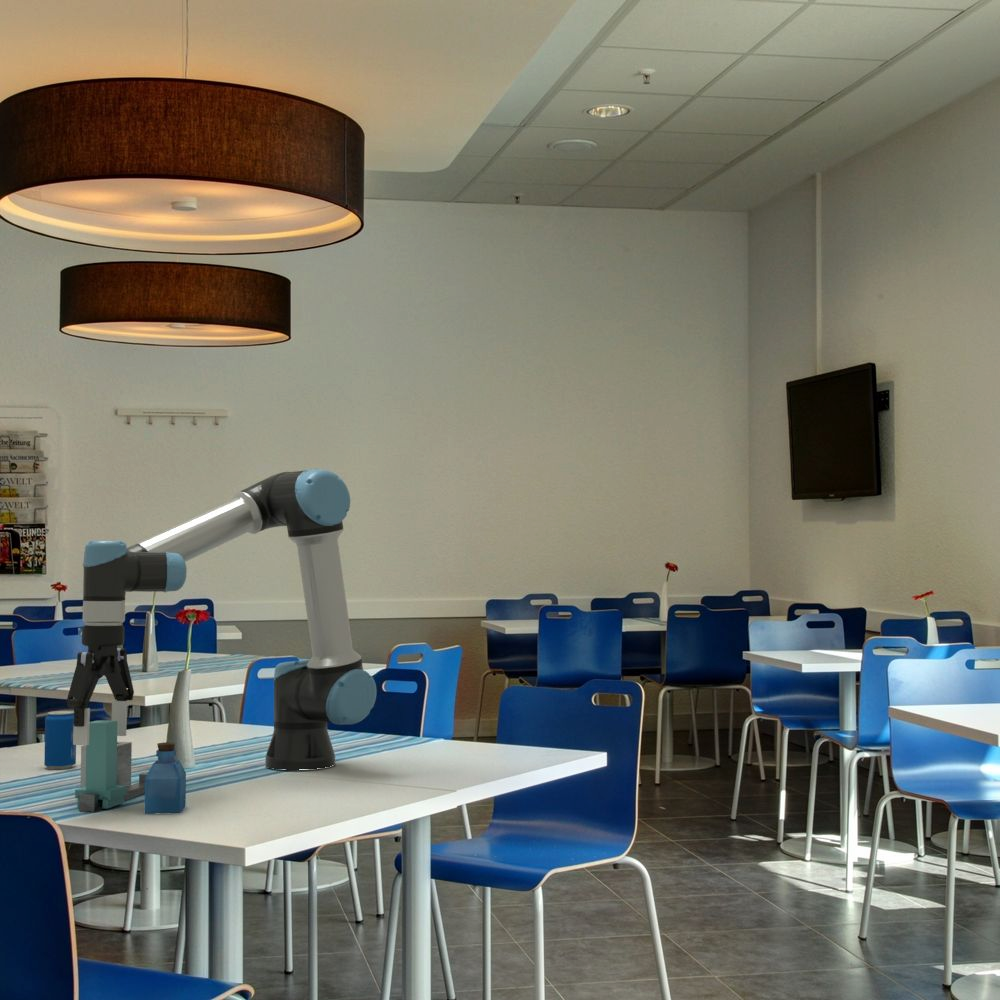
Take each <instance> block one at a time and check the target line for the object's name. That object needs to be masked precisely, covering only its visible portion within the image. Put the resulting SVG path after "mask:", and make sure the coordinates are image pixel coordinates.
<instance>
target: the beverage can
mask: <svg viewBox="0 0 1000 1000" xmlns="http://www.w3.org/2000/svg"><path fill="white" fill-rule="evenodd" d="M73 729H74V710H56V711H49V712H47V715H46V717H45V719H44V762H43V763H44V766H45V767H46V768H47V769H48V770H56V771H57V770H60V771H61V770H68V769H69V770H70V769H72V768H73V766H75V765H76V763H77V762H76V761H77V745H73Z"/></svg>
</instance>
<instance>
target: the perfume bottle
mask: <svg viewBox="0 0 1000 1000" xmlns="http://www.w3.org/2000/svg"><path fill="white" fill-rule="evenodd" d="M175 747H176V742H159V743H157V750H156V755H155V756H156V757H157V760H156V761H154V762H153V763H152V764H151V766H150V769H149V770H148V772H147V773H148V774H147V776H146V778H145V793H144V815H156V814H155V813H180V812H181V811H182V812H183V811H184V809H185V808H186V807H185V806H187V805H186V804H187V803H186V802H187V801H186V799H187V797H186V796H187V794H186V791H187V790H186V789H187V773H186V770H185V769H184V766H183V765H182V763H181V761H180V760H178V759H175V757H176V753H177V750H176V749H175ZM182 812H181V813H182ZM181 813H180V814H181Z"/></svg>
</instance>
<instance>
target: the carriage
mask: <svg viewBox="0 0 1000 1000" xmlns="http://www.w3.org/2000/svg"><path fill="white" fill-rule="evenodd" d="M117 742H118V736H117V721H112V720H103V719H102V720H94V721H90V727H89V745H86V786H85V787H82V788H81V787H79V788H77V789H75V791H74V799H77V803H76V804H77V808H79V794H82V793H96V794H99V799H103V808H104V809H110V808H113V807H115V806H118V805H122V804H123V803H125V801H124V795H125V794H127V786H122V785H117Z"/></svg>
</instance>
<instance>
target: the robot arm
mask: <svg viewBox="0 0 1000 1000" xmlns="http://www.w3.org/2000/svg"><path fill="white" fill-rule="evenodd" d="M350 495H351V494H350V491H349V488H348V486H347V485H346V483H345V482H344V480H343V479H342V478H341V477H339V476H338V474H336V473H334V472H333V471H330V470H326V469H318V468H314V469H313V468H311V469H305V470H297V471H284V472H279V473H275V474H273V475H271V476H268V477H266V478H264V479H262V480H260V481H258V482H256V483H254V484H252V485H251V486H249V487H246V488H245V489H242V490H240V491H237V492H235V493H234V495H233V497H232V500H229V501H227V502H225V503H223V504H221V505H219V506H218V505H217V506H216V507H214V508H212V509H209V510H207V511H205V512H203V513H201V514H198V515H197V516H194V517H192V518H190V519H188V520H186V521H183V522H181V523H180V524H177V525H175V526H172V527H170V528H168V529H166V530H163V531H161V532H159V533H157V534H155V535H153V536H151V537H148V538H146V539H143V540H142V541H139V542H138V543H136V544H134V545H133V544H132V545H130V546H128V547H127V543H126V542H125V541H124V540H123V541H122V540H89V541H88V542H87V543H86V544H85V547H84V551H83V553H84V554H83V562H82V567H83V581H82V582H83V583H82V584H83V586H82V588H83V589H82V591H83V592H82V593H83V594H82V595H83V597H82V607H81V610H82V622H83V623H85V625H82V628H81V644H82V646H84V647H88V649H87V651H85V652H84V651H78V652H77V657H76V666H75V669H74V673H73V676H72V680H71V683H70V688H69V691H68V695H67V698H66V701H65V702H66V706H67V707H68V708H69V709H73V711H74V729H73V745H76V746H83V745H89V727H90V722H91V721H90V718H91V717H90V716H91V708H90V707H88V705H89V702H90V700H91V698H92V696H93V694H94V691H95V688H96V686H97V685H98V682H99V680H100V679H101V678H102V677H105V678H106V681H107V684H108V685H109V687H110V691H111V693H112V695H113V698H114V700H112V701H111V721H117V737H126V736H127V726H128V725H127V723H128V722H127V718H128V713H127V712H128V701H133V699H134V694H135V692H134V691H135V690H134V685H133V682H132V677H131V672H130V667H129V663H128V654H127V653H128V652H127V649H126V648H119V647H120V646H123V645H124V644H125V626H124V625H122V623H124V622H125V621H126V593H127V592H128V593H131V592H144V593H145V592H146V593H149V592H150V593H151V592H153V593H155V592H156V593H157V592H158V593H159V592H160V593H161V592H162V593H165V594H166V593H168V592H177V591H179V590H181V589H182V587H183V586H184V585H185V582H186V580H187V570H188V569H187V563H186V562H187V561H190V560H192V559H194V558H196V557H199V556H200V555H203V554H205V553H207V552H209V551H211V550H214V549H215V548H217V547H220V546H221V545H223V544H225V543H228V542H230V541H232V540H235V539H236V538H238V537H240V536H243V535H244V534H247V533H248V534H252V535H253V534H254V535H256V534H258V533H260V532H262V531H265V530H268V529H272V528H280V527H286V528H287V536H288V539H289V540H291V541H292V542H293V543H295V545H296V548H297V555H298V561H299V568H300V575H301V583H302V588H303V589H302V590H303V595H304V596H303V597H304V605H305V611H306V617H307V624H308V625H307V626H308V632H309V639H310V640H309V641H310V646H311V647H310V648H311V653H312V654H311V655H312V656H311V658H310V659H302V660H301V659H300V660H293V661H284V662H280V663H278V664H277V665H275V669H274V675H273V676H274V677H273V733H272V734H271V735H272V736H271V739H270V742H269V745H268V749H267V750H266V755H265V768H267V767H269V768H274V769H286V770H299V769H317V768H325V767H330V766H332V765H334V764H335V765H336V755H335V750H334V748H333V744H332V740H331V737H330V735H329V731H328V723H330V724H331V723H332V724H335V725H340V726H343V725H355V724H357V723H360V722H361V721H363V720H364V719H365V718H367V717H368V716H369V714H370V712H371V710H372V709H373V708H374V706H375V703H376V700H377V694H378V693H377V684H376V682H375V679H374V677H373V676H372V675H370V673H369V672H368V671H366V670H364V667H363V661H362V655H360V653H358V652H356V650H354V646H353V641H352V633H351V627H350V619H349V613H348V612H349V611H348V605H347V597H346V589H345V582H344V577H343V576H344V575H343V569H342V568H343V567H342V562H341V554H340V546H339V542H338V541H339V540H338V539H339V538H340V536H341V534H342V533H343V532H344V531H345V530H344V529H345V528H344V525H343V524H344V523H343V521H344V519H345V518H346V517H347V516H348V512H349V511H350V507H351V497H350ZM269 768H268V769H269ZM330 768H331V767H330ZM274 769H273V770H274ZM325 769H326V768H325Z"/></svg>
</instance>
